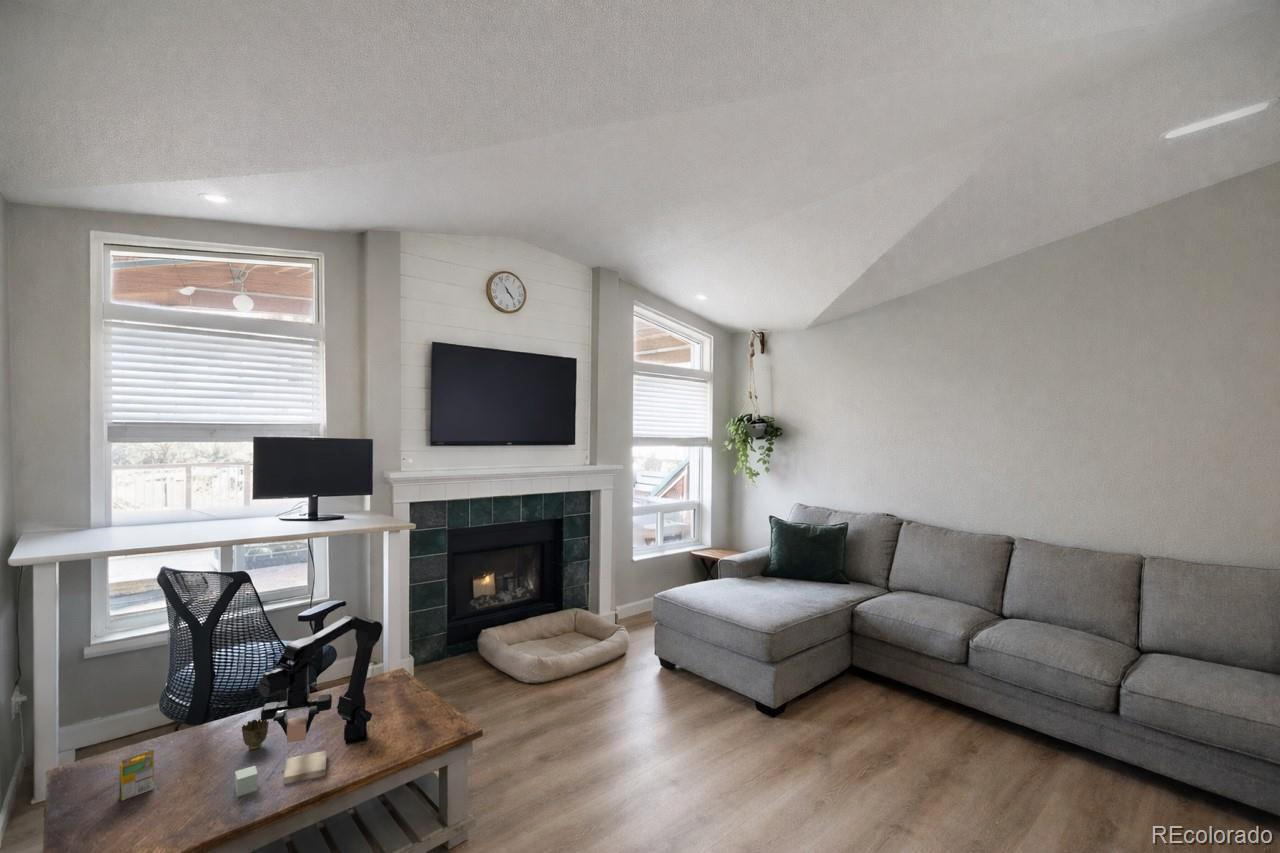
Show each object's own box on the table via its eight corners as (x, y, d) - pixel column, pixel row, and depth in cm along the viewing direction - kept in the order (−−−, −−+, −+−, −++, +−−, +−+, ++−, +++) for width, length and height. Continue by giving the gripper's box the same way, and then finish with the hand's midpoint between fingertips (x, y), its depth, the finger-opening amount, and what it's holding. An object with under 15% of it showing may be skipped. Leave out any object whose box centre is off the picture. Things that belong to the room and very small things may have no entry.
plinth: (326, 758, 192) (326, 750, 192) (325, 776, 182) (325, 768, 182) (286, 766, 187) (287, 758, 187) (283, 786, 177) (283, 777, 177)
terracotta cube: (307, 731, 188) (307, 716, 188) (305, 739, 184) (305, 723, 184) (289, 734, 186) (289, 719, 186) (286, 743, 182) (286, 726, 182)
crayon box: (151, 785, 176) (151, 745, 175) (154, 789, 174) (154, 749, 174) (118, 797, 170) (119, 756, 170) (121, 801, 168) (121, 760, 168)
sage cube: (255, 782, 178) (255, 765, 178) (257, 790, 174) (257, 773, 174) (234, 788, 175) (235, 771, 175) (236, 797, 171) (237, 779, 171)
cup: (255, 756, 192) (255, 731, 192) (235, 752, 193) (236, 728, 193) (273, 743, 199) (274, 719, 199) (254, 740, 200) (255, 717, 200)
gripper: (333, 668, 196) (333, 716, 196) (267, 678, 189) (266, 727, 189) (330, 683, 186) (330, 732, 186) (260, 693, 178) (260, 745, 179)
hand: (297, 733), depth 185 cm, fingers closed on terracotta cube, 5 cm apart
